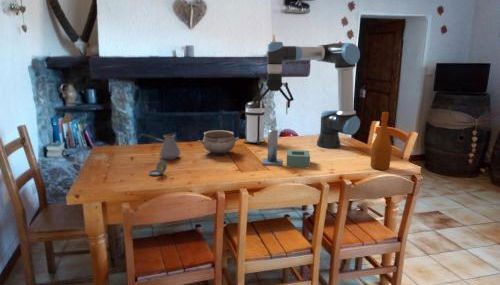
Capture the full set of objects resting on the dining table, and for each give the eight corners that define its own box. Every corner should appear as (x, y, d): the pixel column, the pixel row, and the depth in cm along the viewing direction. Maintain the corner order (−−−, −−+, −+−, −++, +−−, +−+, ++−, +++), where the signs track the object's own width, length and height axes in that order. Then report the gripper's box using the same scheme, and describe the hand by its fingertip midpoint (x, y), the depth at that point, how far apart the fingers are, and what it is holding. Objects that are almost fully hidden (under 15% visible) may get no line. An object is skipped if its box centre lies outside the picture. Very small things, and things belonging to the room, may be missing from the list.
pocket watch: (150, 171, 181) (149, 152, 179) (167, 171, 182) (167, 152, 179) (147, 177, 173) (146, 157, 171) (165, 177, 174) (164, 156, 171)
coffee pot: (178, 154, 213) (178, 129, 209) (182, 159, 202) (181, 133, 199) (140, 157, 206) (139, 131, 202) (142, 162, 195) (140, 135, 192)
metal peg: (276, 159, 201) (277, 129, 197) (276, 162, 196) (277, 131, 192) (267, 159, 201) (268, 129, 197) (267, 162, 197) (268, 131, 192)
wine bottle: (390, 171, 187) (397, 113, 180) (370, 170, 189) (376, 112, 182) (387, 165, 196) (393, 110, 189) (368, 164, 198) (374, 109, 191)
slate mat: (281, 160, 203) (281, 158, 203) (280, 165, 194) (280, 164, 193) (263, 159, 204) (263, 158, 204) (262, 164, 195) (262, 163, 194)
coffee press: (260, 139, 253) (261, 96, 246) (268, 144, 238) (270, 98, 231) (236, 140, 248) (236, 96, 241) (243, 146, 233) (244, 99, 226)
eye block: (308, 161, 203) (308, 150, 201) (309, 167, 191) (310, 156, 190) (286, 160, 204) (287, 149, 203) (286, 166, 192) (286, 155, 191)
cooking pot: (201, 159, 203) (201, 138, 200) (194, 151, 220) (194, 131, 217) (244, 155, 211) (244, 135, 208) (234, 148, 229) (234, 129, 226)
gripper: (249, 72, 185) (249, 114, 190) (299, 73, 183) (297, 115, 188) (251, 72, 192) (251, 111, 198) (298, 72, 190) (297, 113, 195)
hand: (273, 113), depth 193 cm, fingers open, 13 cm apart
